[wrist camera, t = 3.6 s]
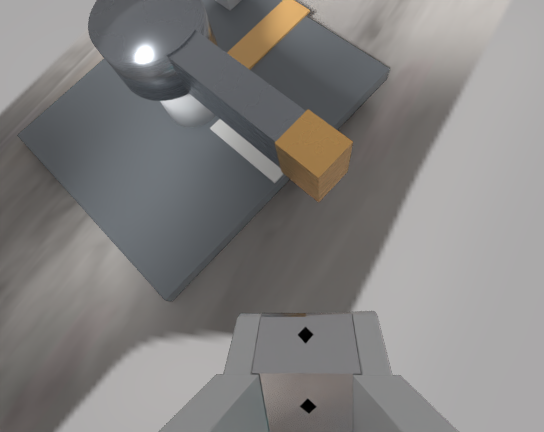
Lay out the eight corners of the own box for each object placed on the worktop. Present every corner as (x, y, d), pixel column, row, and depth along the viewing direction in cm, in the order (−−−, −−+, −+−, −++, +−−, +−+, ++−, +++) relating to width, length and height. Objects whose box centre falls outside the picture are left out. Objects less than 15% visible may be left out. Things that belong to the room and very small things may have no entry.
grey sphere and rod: (291, 232, 19) (285, 211, 16) (101, 65, 24) (66, 22, 21) (372, 145, 20) (383, 108, 17) (173, 2, 25) (150, -49, 22)
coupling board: (171, 301, 25) (84, 287, 16) (28, 142, 31) (-99, 62, 22) (390, 74, 29) (426, -51, 19) (223, -32, 34) (186, -168, 25)
